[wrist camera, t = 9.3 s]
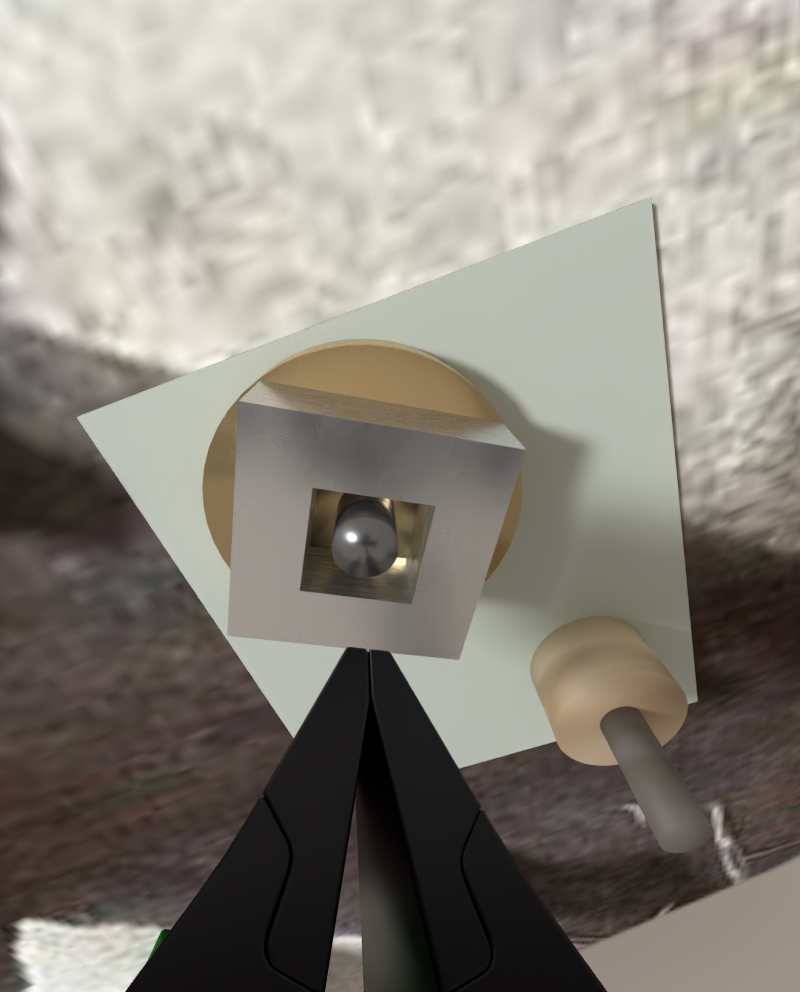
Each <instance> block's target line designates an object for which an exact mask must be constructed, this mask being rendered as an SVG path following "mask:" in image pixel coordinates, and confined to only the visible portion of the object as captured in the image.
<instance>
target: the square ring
mask: <svg viewBox="0 0 800 992" xmlns="http://www.w3.org/2000/svg"><path fill="white" fill-rule="evenodd" d="M525 453H526V449H525V447H524V446H523V445H522V444H521V443H520V442H519V441H518V440H517V439H516V437H515V436H514V435H513V434H512V433H511V432H510V431H509V430H508V429H507V427H506V426H505V425H504V424H503V423H502V422H496V421H491V420H485V419H479V418H474V417H468V416H462V415H457V414H451V413H445V412H440V411H434V410H428V409H423V408H417V407H411V406H406V405H400V404H394V403H389V402H383V401H377V400H372V399H366V398H360V397H355V396H349V395H343V394H338V393H332V392H326V391H321V390H315V389H309V388H304V387H298V386H292V385H287V384H281V383H275V382H270V381H264V380H260V381H259V382H258V383H257V384H256V385H255V386H254V387H253V388H252V389H251V390H250V391H249V392H248V393H246V394H245V395H244V396H243V397H242V398H241V399H240V400H239V404H238V425H237V445H236V465H235V486H234V506H233V527H232V547H231V568H230V588H229V608H228V629H227V636H233V637H243V638H252V639H262V640H272V641H281V642H291V643H300V644H310V645H319V646H329V647H339V648H347V647H356V648H365V649H367V651H369V650H371V649H376V650H385V651H389V652H390V653H396V654H406V655H415V656H425V657H434V658H444V659H453V660H459V659H460V656H461V652H462V649H463V646H464V643H465V640H466V637H467V634H468V631H469V628H470V624H471V621H472V618H473V615H474V612H475V609H476V606H477V603H478V600H479V596H480V593H481V590H482V587H483V584H484V581H485V578H486V575H487V572H488V568H489V565H490V562H491V559H492V556H493V553H494V550H495V547H496V544H497V541H498V537H499V534H500V531H501V528H502V525H503V522H504V519H505V516H506V513H507V509H508V506H509V503H510V500H511V497H512V494H513V491H514V488H515V485H516V481H517V478H518V475H519V472H520V469H521V466H522V463H523V460H524V457H525ZM317 489H324V490H331V491H337V492H344V493H351V494H357V495H364V496H371V497H378V498H384V499H391V500H398V501H404V502H411V503H418V508H417V512H416V517H415V521H414V525H413V530H412V534H411V538H410V542H409V547H408V551H407V555H406V559H404V558H397V559H396V561H395V563H394V564H393V565H392V567H391V568H390V569H388V570H387V571H386V572H384V573H382V574H380V575H378V576H374V577H369V578H361V577H355V576H352V575H350V574H348V573H346V572H344V571H343V570H342V569H340V568H339V567H338V565H337V564H336V562H335V561H334V558H333V555H332V549H329V548H321V547H314V546H310V540H311V532H312V524H313V517H314V509H315V501H316V493H317Z"/></svg>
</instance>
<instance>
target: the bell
mask: <svg viewBox="0 0 800 992" xmlns="http://www.w3.org/2000/svg"><path fill="white" fill-rule="evenodd" d="M260 380H264V381H270V382H275V383H281V384H287V385H292V386H298V387H304V388H309V389H315V390H321V391H326V392H332V393H338V394H343V395H349V396H355V397H360V398H366V399H372V400H377V401H383V402H389V403H394V404H400V405H406V406H411V407H417V408H423V409H428V410H434V411H440V412H445V413H451V414H457V415H462V416H468V417H474V418H479V419H485V420H491V421H496V422H502V423H503V424H504V422H503V420H502V419H501V417H500V416H499V415H498V413H497V412H496V410H495V409H494V408H493V406H492V405H491V404H490V402H489V401H488V400H487V399H486V398H485V397H484V396H483V395H482V394H481V393H480V392H479V391H478V390H477V389H476V388H475V387H474V386H473V384H472V383H471V382H470V381H469V380H468V379H467V378H466V377H464V376H463V375H462V374H461V373H459V372H458V371H457V370H456V369H454V368H453V367H452V366H451V365H449V364H447V363H445V362H444V361H442V360H440V359H439V358H437V357H435V356H434V355H432V354H429V353H427V352H424V351H422V350H420V349H417V348H415V347H412V346H408V345H404V344H400V343H397V342H393V341H385V340H377V339H346V340H340V341H333V342H327V343H324V344H320V345H317V346H314V347H310V348H307V349H305V350H303V351H300V352H298V353H296V354H294V355H292V356H290V357H287V358H286V359H284V360H283V361H281V362H280V363H278V364H277V365H275V366H273V367H272V368H270V369H269V370H268V371H267V372H266V373H264V374H263V375H262V376H261V377H260V378H259V379H258V380H256V381H255V382H254V383H253V384H252V385H251V386H250V387H249V388H248V389H247V390H245V391H244V392H243V393H242V394H241V396H240V397H239V398H238V399H237V400H236V401H235V403H234V404H233V405H232V406H231V407H230V409H229V410H228V411H227V413H226V414H225V416H224V418H223V419H222V421H221V423H220V424H219V426H218V427H217V429H216V432H215V434H214V436H213V439H212V441H211V444H210V446H209V449H208V453H207V457H206V461H205V465H204V473H203V484H202V490H203V506H204V511H205V516H206V520H207V525H208V528H209V530H210V533H211V536H212V539H213V541H214V543H215V545H216V547H217V549H218V551H219V553H220V555H221V557H222V559H223V560H224V561H225V563H226V564H227V566H228V567H229V568H231V547H232V527H233V506H234V486H235V465H236V445H237V425H238V404H239V400H240V399H241V398H242V397H243V396H244V395H245V394H246V393H248V392H249V391H250V390H251V389H252V388H253V387H254V386H255V385H256V384H257V383H258V382H259V381H260ZM504 425H505V424H504ZM521 503H522V475H521V469H520V472H519V475H518V478H517V481H516V485H515V488H514V491H513V494H512V497H511V500H510V503H509V506H508V509H507V513H506V516H505V519H504V522H503V525H502V528H501V531H500V534H499V537H498V541H497V544H496V547H495V550H494V553H493V556H492V559H491V562H490V565H489V568H488V572H487V575H486V578H485V581H486V580H487V579H488V578H489V577H490V576H491V575H492V573H493V572H494V571H495V569H496V568H497V567H498V565H499V564H500V562H501V561H502V559H503V557H504V555H505V554H506V552H507V550H508V548H509V546H510V544H511V541H512V539H513V537H514V534H515V532H516V528H517V524H518V520H519V517H520V512H521ZM417 508H418V503H411V502H404V501H398V500H391V499H384V498H378V497H371V496H364V495H357V494H351V493H344V492H337V491H331V490H324V489H317V493H316V501H315V509H314V517H313V524H312V532H311V540H310V546H314V547H321V548H329V549H332V555H333V558H334V561H335V562H336V564H337V565H338V567H339V568H340V569H342V570H343V571H344V572H346V573H348V574H350V575H352V576H355V577H361V578H369V577H374V576H378V575H380V574H382V573H384V572H386V571H387V570H388V569H390V568H391V567H392V565H393V564H394V563H395V561H396V559H397V558H404V559H406V555H407V551H408V547H409V542H410V538H411V534H412V530H413V525H414V521H415V517H416V512H417ZM485 581H484V582H485Z"/></svg>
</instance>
